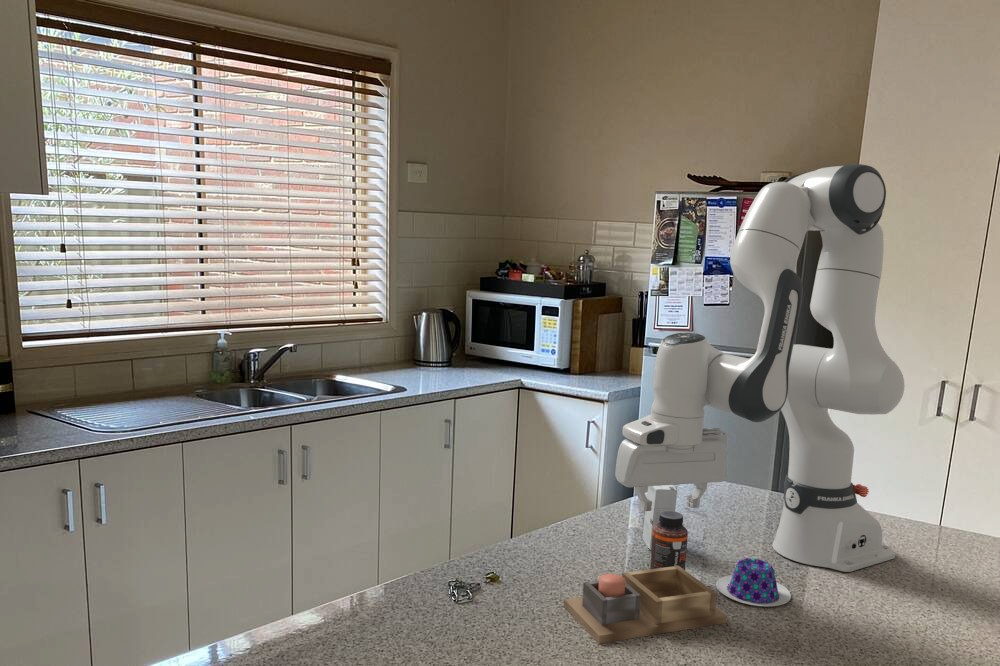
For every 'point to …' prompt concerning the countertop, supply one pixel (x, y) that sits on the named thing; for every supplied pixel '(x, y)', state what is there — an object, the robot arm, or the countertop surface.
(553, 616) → the countertop surface
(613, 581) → the button
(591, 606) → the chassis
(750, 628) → the countertop surface
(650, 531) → the skincare box
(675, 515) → the supplement bottle
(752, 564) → the pudding
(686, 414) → the robot arm
